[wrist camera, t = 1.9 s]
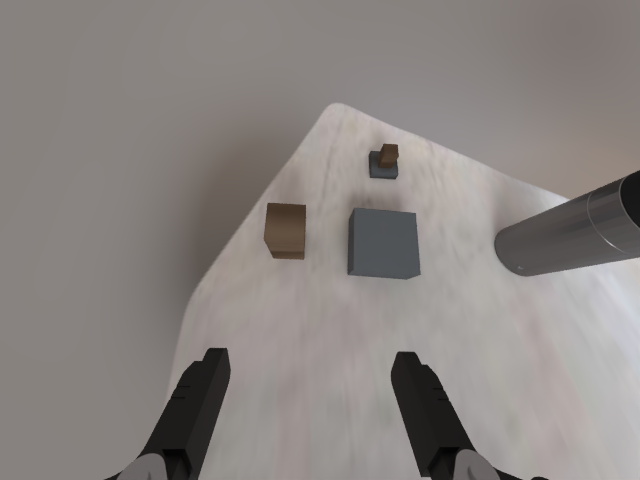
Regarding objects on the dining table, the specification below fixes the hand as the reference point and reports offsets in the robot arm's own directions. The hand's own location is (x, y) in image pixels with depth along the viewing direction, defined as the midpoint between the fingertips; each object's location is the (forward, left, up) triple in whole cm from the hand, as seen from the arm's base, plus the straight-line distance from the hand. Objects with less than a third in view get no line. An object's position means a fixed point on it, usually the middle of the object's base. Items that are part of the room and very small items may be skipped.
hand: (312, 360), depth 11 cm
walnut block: (-4, -13, -25) cm, 29 cm away
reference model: (-27, -19, -25) cm, 41 cm away
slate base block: (-17, -6, -25) cm, 31 cm away
